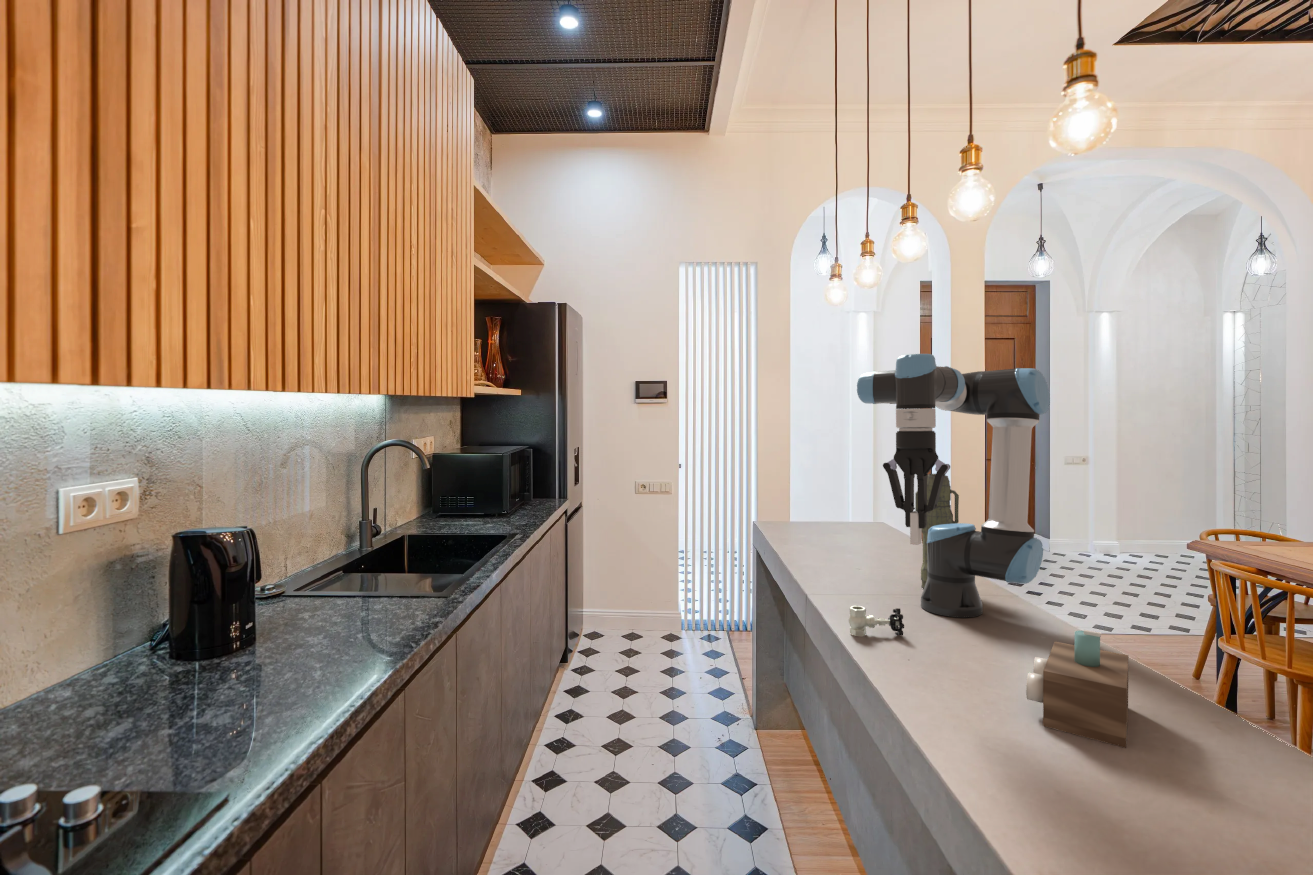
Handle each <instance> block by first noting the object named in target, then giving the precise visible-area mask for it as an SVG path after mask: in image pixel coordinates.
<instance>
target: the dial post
mask: <svg viewBox="0 0 1313 875" xmlns="http://www.w3.org/2000/svg"><path fill="white" fill-rule="evenodd" d="M1101 637H1102V632H1100V631H1099V632H1098V631H1094V630H1087V629H1083V630H1074V645H1075V649H1074V661H1075V662H1076V663H1078V664H1080V665H1084V666H1088V667H1099V666H1100V650H1101Z"/></svg>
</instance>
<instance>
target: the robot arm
mask: <svg viewBox="0 0 1313 875" xmlns="http://www.w3.org/2000/svg"><path fill="white" fill-rule="evenodd" d="M856 391H857V396H858V399H859V400H860V401H861V402H862V403H864V404H870V405H871V404H872V405H877V404H889V405H890V404H892V405H896V406H895V428H896V429H898V431H897V430H896V432H895V452H894V455H893V458H892V459H891V460H889V461H887V462H884V463H883V464H882V468H883V469H884V470H885V472H886V474H887V477H888V480H889V484H890V489H891V493H892V496H893V500H894V504H895V507H896V508H897V509H900V510H902V511H903V512H904V513H905V515H904V516H905V517H904V519H905V520H904V524H905V527H906V528H909V529H910V530H909V531H910V532H909V533H910V535H909V536H910V537H909V539H910V540H909V541H910V542H909V543H910V545H915V546H919V545H920V544H923V533H922V529H924V528H926V526H927V512H928V511H932V510H934V509H936V507H937V503H938V500H939V496H940V492H941V488H942V484H943V480H944V477H945V475H946V474H947V473H948V472H949V470H951V465H950V464H949V463H945V462H943V461H941V460H940V459H939V455H938V454H937V450H936V448H937V445H936V444H937V440H936V439H937V437H936V435H937V434H936V433H937V432H936V431H935V430H933V429H934V428H936V427H937V426H936V422H937V421H936V416H937V415H936V408H938V409H939V410H941V411H949V412H955V413H961V414H967V415H978V416H981V415H982V416H986V422H987V423H989V425H990V426H991V427H992V438H991V439H992V440H991V441H992V442H991V457H990V458H991V459H990V462H991V463H990V482H989V499H988V502H989V503H988V519H987V520H986V521H985V522H984V523H982V524H981V525H980V526H981V528H980V531H978V530H977V528H976V526H975V524H972V523H966V522H963V523H959V522H958V523H956V524H942V525H936V526H932V527H931V528H930V529H929V530H928V537H927V566H928V578H927V582H926V585H925V587H924V589H922V590H923V591H922V594H921V595H920V607H921V608H922V609H924V611H927V612H929V613H932V614H934V615H935V614H936V615H940V616H943V617H944V616H945V617H951V618H976V617H978V616H981V615H982V614H983V605H984V604H983V601H982V599H981V596H980V593H979V590H978V587H977V585H976V577H981V578H986V579H992V580H998V581H1003V582H1006V583H1008V584H1010V583H1013V584H1022V585H1023V584H1024V585H1027V584H1029V583H1030V582H1033V580H1034V579H1035V578H1036V576H1037V575H1038V572H1039V571H1040V568H1041V565H1042V562H1043V561H1042V560H1043V556H1044V548H1043V547H1044V546H1043V543H1042V540H1041V539H1039V538H1037V537H1035V529H1034V528H1033V527H1031V525H1030V524H1029V523H1028V520H1029V519H1028V517H1029V516H1028V515H1029V494H1030V493H1029V492H1030V473H1031V457H1032V456H1031V453H1032V451H1031V450H1032V432H1033V431H1032V430H1033V427H1035V426H1036V425H1037V424H1039V423H1040V416H1041V415H1044V414H1046V413H1048V411H1049V408H1050V405H1051V404H1050V403H1051V397H1050V395H1051V394H1050V389H1049V385H1048V382H1047V380H1046V378H1045V375H1044V374H1043V373H1042V372H1041V371H1040V370H1038V369H1037V368H1034V367H1033V368H1027V367H1026V368H1025V367H1024V368H1021V367H1016V368H1007V369H1006V368H1005V369H996V370H993V369H992V370H983V371H972V372H971V371H970V372H966V373H962V372H961V371H959V370H958V369H956V368H953V367H951V366H947V365H945V366H939V365H938V366H937V364H936V356H934V355H933V354H931V353H915V354H914V353H909V354H904V355H900V356H898V357H897V359H896V363H895V370H882V371H881V370H879V371H876V370H873V371H870V372H864V373H862V374H861V375H860V376H859V377H858V380H857V382H856ZM934 466H935V469H934V470H935V471H936V473H935V474H936V475H935V478H934V482H933V486H932V490H931V494H930V498H929V502H928V505H927V478H928V474H930V473H929V472H930V471H931V470H932V469H933V467H934ZM897 468H899V469H900V470H901V472H902V473H903V479H904V494H903V490H902V485H901V483H900V478H899V474H898V470H897ZM915 476H916V481H917V491H918V510H917V511H915Z"/></svg>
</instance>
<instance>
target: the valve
mask: <svg viewBox="0 0 1313 875" xmlns="http://www.w3.org/2000/svg"><path fill="white" fill-rule="evenodd" d="M901 611H902V610H901V608H897V607H895V608H893V609H892V613H893V614H890V615H889V617H888V618H887V619H886V617H878V618H876V617H874V615H872V614H871V615H870V614H868V616H866V615H867V608H865V607H864V606H861V605H852V606H850V608H849V617H848V624H849V634H850V633H851V634H853V635H855V636H864V635H865V634H866V635H867V628H869V629H875V626H877V625H878V626H881V627H883V626H884V627H885V626H886V625H888V626H889V627H890V629H891V630H892V631H893V632H895V636H896V635H901V636H904V630H903V629H905V624H904V622H903V619H904V614H902V613H901ZM853 635H852V636H853ZM866 635H865V636H866ZM855 636H854V637H855ZM865 636H864V637H865Z"/></svg>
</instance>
